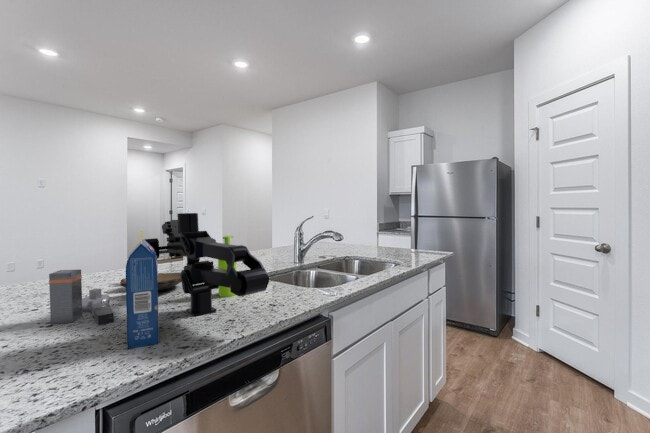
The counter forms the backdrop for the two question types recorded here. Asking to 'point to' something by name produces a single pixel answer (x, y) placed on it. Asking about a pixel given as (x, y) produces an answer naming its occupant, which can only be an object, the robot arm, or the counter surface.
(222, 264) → the soap dispenser
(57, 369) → the counter surface
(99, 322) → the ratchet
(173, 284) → the notched wooden ornament
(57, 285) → the grey orange-striped post
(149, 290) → the blue food package
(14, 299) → the counter surface
